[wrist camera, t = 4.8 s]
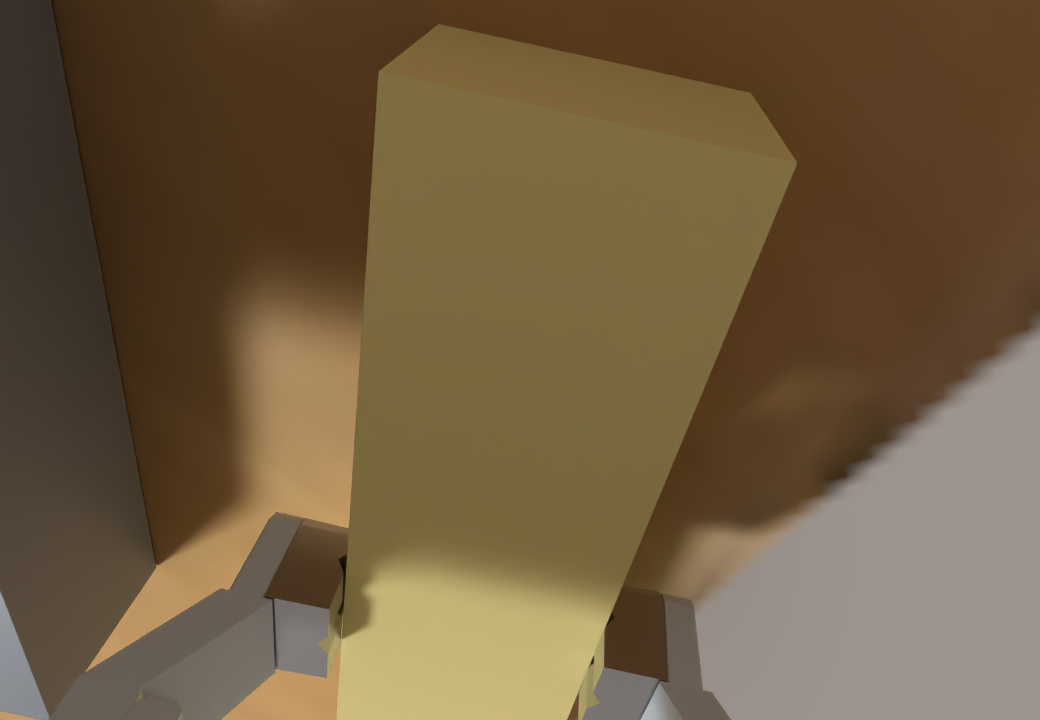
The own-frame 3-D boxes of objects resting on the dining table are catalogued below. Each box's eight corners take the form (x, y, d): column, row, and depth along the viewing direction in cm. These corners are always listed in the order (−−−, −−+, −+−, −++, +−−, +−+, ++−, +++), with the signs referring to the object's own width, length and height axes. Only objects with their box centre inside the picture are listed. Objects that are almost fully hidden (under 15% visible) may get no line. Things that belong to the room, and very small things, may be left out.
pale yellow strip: (747, 87, 9) (798, 163, 7) (522, 728, 18) (507, 863, 16) (442, 20, 9) (379, 71, 7) (368, 696, 18) (329, 826, 16)
